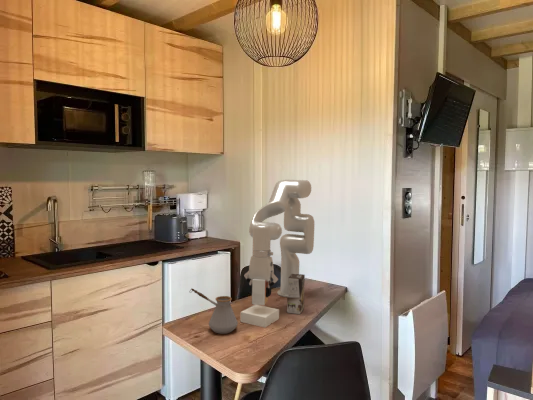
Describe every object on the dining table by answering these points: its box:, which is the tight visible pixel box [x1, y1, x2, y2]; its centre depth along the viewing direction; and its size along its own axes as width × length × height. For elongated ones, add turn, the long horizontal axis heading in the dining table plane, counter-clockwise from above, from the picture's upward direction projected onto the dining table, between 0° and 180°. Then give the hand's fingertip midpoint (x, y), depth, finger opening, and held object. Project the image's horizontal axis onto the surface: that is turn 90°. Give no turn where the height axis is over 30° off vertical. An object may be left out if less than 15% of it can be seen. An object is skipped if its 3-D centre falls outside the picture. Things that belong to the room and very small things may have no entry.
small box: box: [251, 279, 269, 306], centre depth 170 cm, size 8×6×10 cm
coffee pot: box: [189, 288, 239, 335], centre depth 160 cm, size 21×12×15 cm, turn 67°
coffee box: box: [286, 273, 306, 315], centre depth 183 cm, size 9×6×16 cm
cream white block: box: [240, 304, 280, 328], centre depth 171 cm, size 12×12×4 cm
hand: (260, 294), depth 170 cm, fingers closed on small box, 6 cm apart
